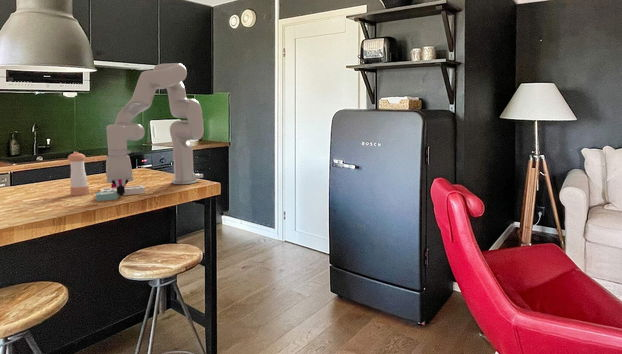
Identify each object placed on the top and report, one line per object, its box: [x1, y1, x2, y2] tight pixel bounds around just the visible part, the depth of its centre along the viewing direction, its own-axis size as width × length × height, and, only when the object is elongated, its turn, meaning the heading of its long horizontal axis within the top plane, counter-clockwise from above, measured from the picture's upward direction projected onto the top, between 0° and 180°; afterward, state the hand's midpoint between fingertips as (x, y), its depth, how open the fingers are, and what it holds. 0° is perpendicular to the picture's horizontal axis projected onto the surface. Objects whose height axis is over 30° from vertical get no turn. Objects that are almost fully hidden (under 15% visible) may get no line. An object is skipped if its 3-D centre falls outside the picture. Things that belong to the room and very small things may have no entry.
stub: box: [95, 191, 119, 202], centre depth 189 cm, size 8×6×3 cm
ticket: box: [99, 185, 146, 197], centre depth 199 cm, size 18×7×3 cm, turn 119°
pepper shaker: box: [67, 151, 90, 196], centre depth 197 cm, size 7×7×19 cm
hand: (121, 195), depth 192 cm, fingers closed
